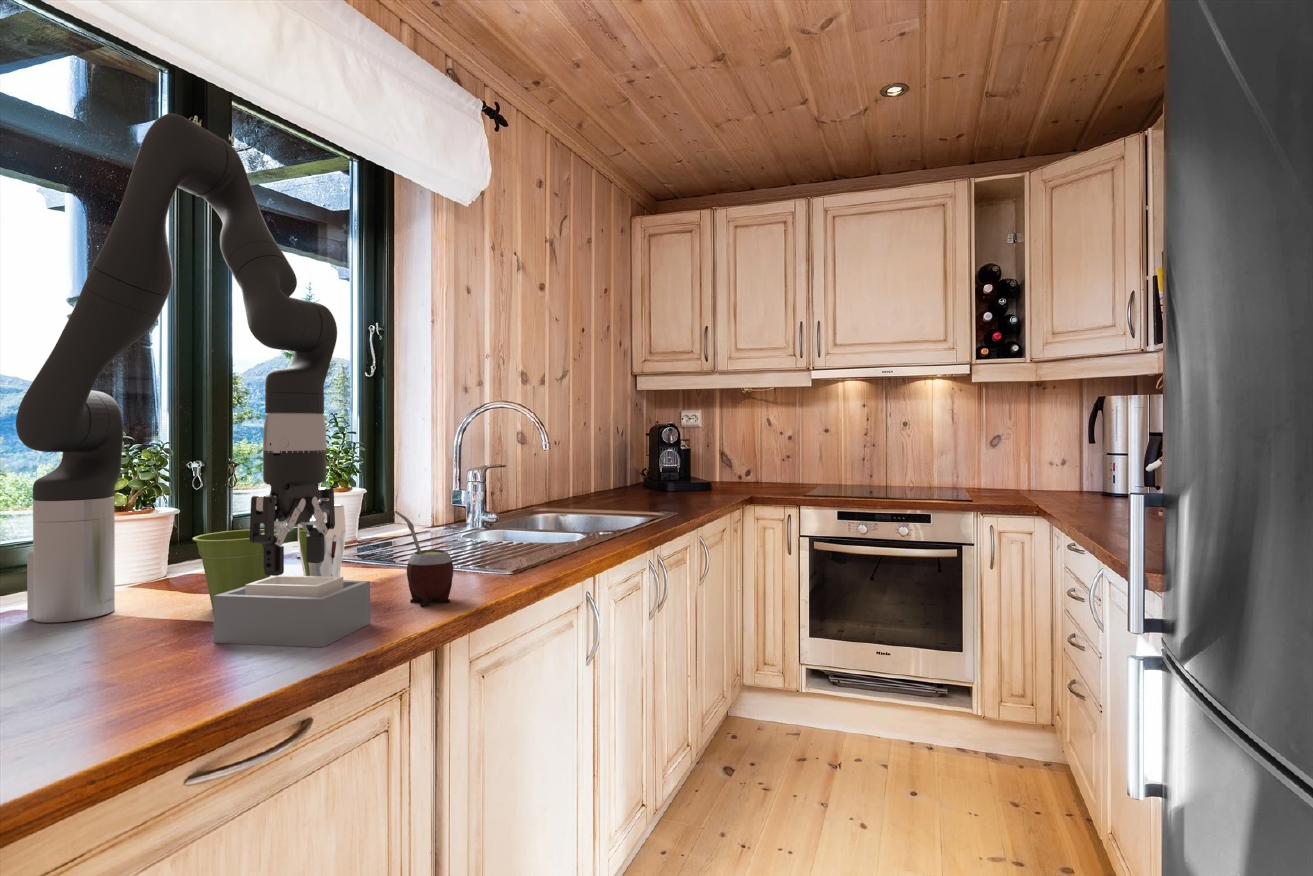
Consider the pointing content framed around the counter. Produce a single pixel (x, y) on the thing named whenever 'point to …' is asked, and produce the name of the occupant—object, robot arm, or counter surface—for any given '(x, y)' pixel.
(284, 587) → the white crate
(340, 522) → the beer glass
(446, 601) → the mate gourd
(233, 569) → the plant pot
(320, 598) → the slate crate
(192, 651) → the counter surface
